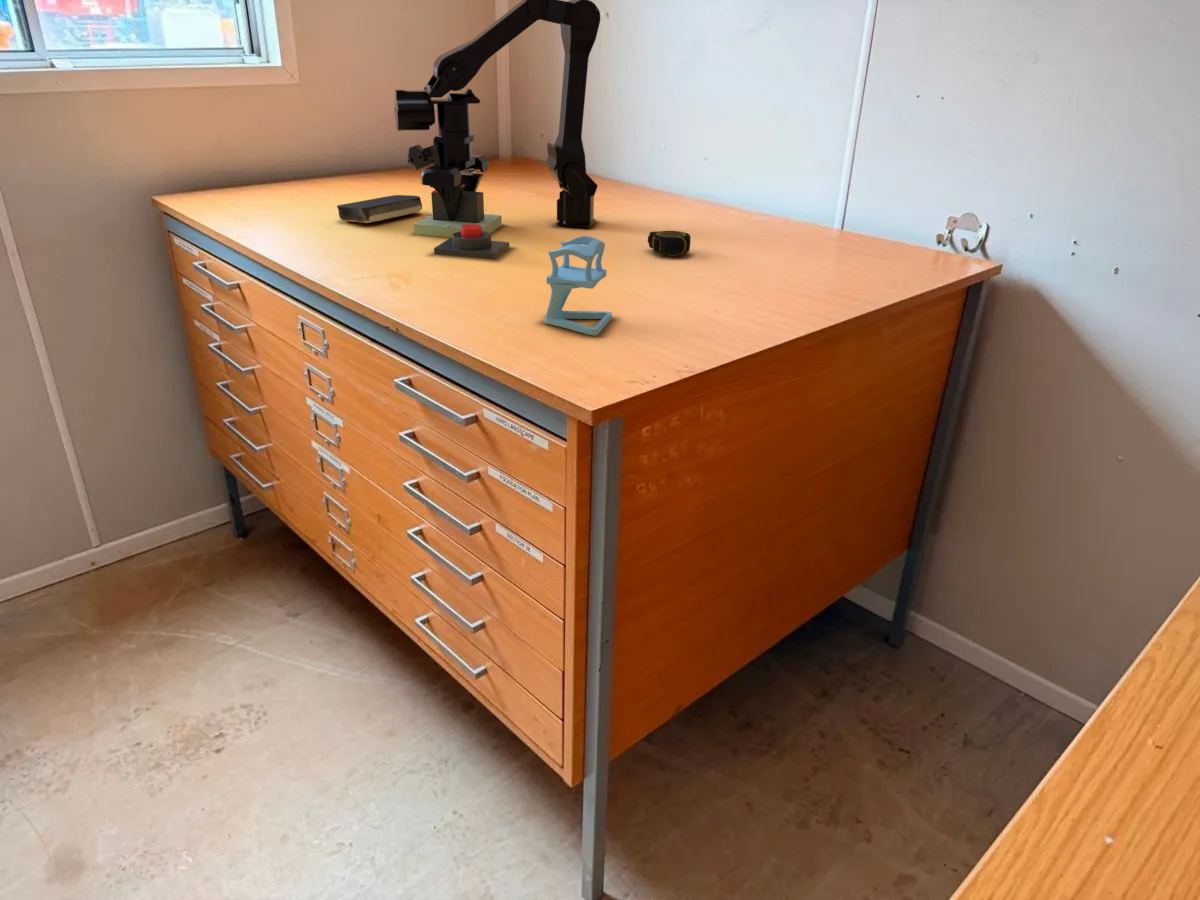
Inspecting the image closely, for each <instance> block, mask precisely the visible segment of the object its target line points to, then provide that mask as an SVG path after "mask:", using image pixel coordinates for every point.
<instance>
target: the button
mask: <svg viewBox="0 0 1200 900" xmlns="http://www.w3.org/2000/svg"><path fill="white" fill-rule="evenodd" d="M461 237H466V238H477V237H482V226H480V225H476V224H467V225H463V226H461Z"/></svg>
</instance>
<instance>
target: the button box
mask: <svg viewBox="0 0 1200 900" xmlns="http://www.w3.org/2000/svg"><path fill="white" fill-rule="evenodd" d="M491 234H492V233H488V232H485V231H482V237H477V238H466V237H461V231H460V232H456V233H454V234H452V236H453V237H449V238H448V239H446V240H445V241H443V242H441V243H439V244H438V245H436V246H435V247H433V254H434V255H437V256H446V257H447V256H448V257H457V258H458V257H459V258H460V257H461V258H470V259H471V258H473V259H483V260H493V261H495V260H496V259H497V258H499V257H500V256H502V255H503V254H504V253H506V252H507V251H508V250H510V248H511V247H510V241H499V240H492V235H491Z"/></svg>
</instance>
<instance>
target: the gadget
mask: <svg viewBox="0 0 1200 900" xmlns="http://www.w3.org/2000/svg"><path fill="white" fill-rule="evenodd" d="M430 195H431V209H432V210H431V213H432V214H433V219H434V220H446V221H450V220H449V218H448V215H447V212H446V210H445V207H444V204H443V201H442V199H441V196H440V194H439V193H438V192H437V191H436V190H435V189H434V190H432V191H431V193H430ZM484 200H485V199H484V192H483V191H476V192H472V191H463V193H462V197H461V201H460V205H459V209H458V213H457V216H456V220H455V221H458V222H471V223H479V222H480V221H482V220H483V219H484V214H485V204H484V203H485V201H484Z"/></svg>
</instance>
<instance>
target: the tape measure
mask: <svg viewBox="0 0 1200 900" xmlns="http://www.w3.org/2000/svg"><path fill="white" fill-rule="evenodd" d="M647 244H648V247H649V248H650V249H652V250H653V252H654V253H657V254H660V255H666V256H669V257H680V255H685V254H687V253H689V251H690V249H691V235H690V233H688V232H684V231H680V230H679V231H678V230H660V231H656V230H655V231H650V232H649V233H648V236H647Z"/></svg>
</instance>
